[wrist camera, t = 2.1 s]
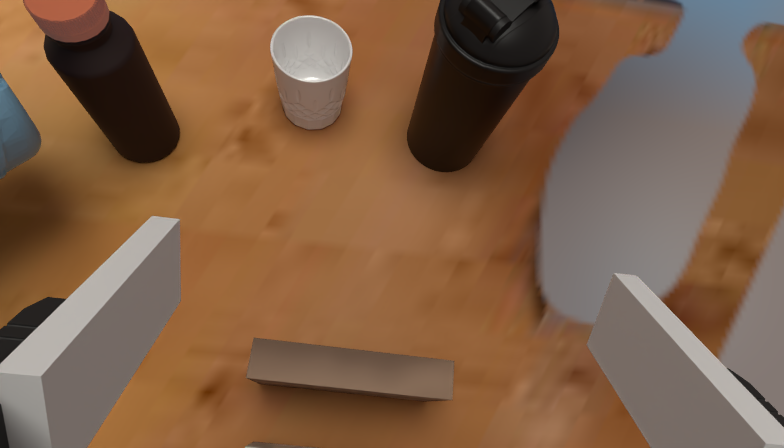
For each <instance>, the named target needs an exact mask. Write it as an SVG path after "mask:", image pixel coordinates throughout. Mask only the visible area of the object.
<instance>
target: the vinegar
mask: <svg viewBox="0 0 784 448" xmlns="http://www.w3.org/2000/svg"><path fill="white" fill-rule="evenodd" d="M23 1H24V2H23V3H24V5H25V8H26V9H27V11H28V12H29V13H30V15H31V16H32V18H33V19H34V20H35V22H36V23H37V24H38V26H39V27H40V28H41V30H42V31H43V32H44V33H45V34H46V35H45V41H44V50H45V53H46V57H47V59H48V61H49V62H50V64H51V65H52V66H53V68H54V69H55V70H56V72H57V73H58V74H59V75H60V77H61V78H62V79H63V81H64V82H65V83H66V85H67V86H68V87H69V88H70V90H71V91H72V92H73V94H74V95H75V96H76V98H77V99H78V100H79V102H80V103H81V104H82V105H83V107H84V108H85V109H86V111H87V112H88V113H89V115H90V116H91V117H92V119H93V120H94V121H95V122H96V124H97V125H98V126H99V128H100V129H101V130H102V132H103V133H104V134H105V135H106V137H107V138H108V139H109V141H110V142H111V143H112V145H113V146H114V147H115V148H116V150H117V151H118V152H119V153H120V154H121V155H122V156H124V157H126V158H127V159H129V160H132V161H136V162H152V161H156V160H159V159H161V158H163V157H165V156H166V155H168V154H169V153H170V152H171V151H172V150H173V149H174V148H175V146H176V144H177V142H178V139H179V126H178V123H177V120H176V118H175V116H174V114H173V112H172V110H171V108H170V106H169V103H168V101H167V99H166V97H165V95H164V93H163V91H162V89H161V87H160V85H159V83H158V80H157V78H156V76H155V74H154V72H153V70H152V68H151V66H150V64H149V62H148V60H147V57H146V55H145V53H144V51H143V49H142V47H141V45H140V43H139V41H138V39H137V37H136V34H135V32H134V30H133V29H132V27H131V26H130V25H129V24H128V23H127V21H126V20H125V19H124V18H122V17H120V16H119V15H117V14H115V13H114V12H112V11H109V9H108V6H107V4H106V2H105V0H23Z"/></svg>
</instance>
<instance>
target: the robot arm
mask: <svg viewBox="0 0 784 448" xmlns="http://www.w3.org/2000/svg"><path fill="white" fill-rule="evenodd" d="M40 147H41V136H40V133H39V131H38V129H37V128H36V126H35V124H34V123H33V121H32V120H31V118H30V117H29V115H28V114H27V112H26V111H25V109H24V108H23V106H22V105H21V103H20V102H19V100H18V99H17V97H16V96H15V94H14V93H13V91H12V90H11V88H10V87H9V86H8V84H7V83H6V81H5V80H4V78H3V77H2V75H1V73H0V179H2V178H3V177H4V176H5V175H6V173H7V172H9V171H10V170H12V169H14V168H15V167H17V166H19V165H20V164H22V163H24V162H25V161H27V160H29V159H31V158H32V157H33V156H35V155H36V154H37V153H38V151H39V149H40ZM180 301H181V281H180V219H173V218H165V217H157V216H151V217H150V218H149V219H148V220H147V221H146V222H145V223H144V224H143V225H142V226H141V227H140V228H139V229H138V230H137V231H136V232H135V233H134V234H133V235H132V236H131V237H130V238H129V239H128V240H127V241H126V242H125V243H124V244H123V245H122V246H121V247H120V248H119V249H118V250H117V251H116V252H115V253H113V254H112V255H111V256H110V257H109V258H108V259H107V260H106V261H105V262H104V263H103V264H102V265H101V266H100V267H99V268H98V269H97V270H96V271H95V272H94V273H93V274H92V275H91V276H90V277H89V278H88V279H87V280H86V281H85V282H84V283H83V284H82V285H81V286H80V287H79V288H78V289H77V290H75V291H74V292H73V293H72V294H71V295H70V296H69V297H68V298H67V299H62V298H52V297H47V298H45V299H43V300H41V301H39V302H37V303H35V304H32V305H30V306H28V307H26V308H24V309H23V310H22V311H21V312H20V313H18V314H17V315H16V316H15V317H14V318H13V319H12V320H11V321H9V322H8V323H7V326H4V327H3V328H1V329H0V448H87V447H88V445H89V444H90V442H91V441H92V439H93V437H94V436H95V434H96V433H97V431H98V430H99V428H100V427H101V425H102V423H103V422H104V420H105V419H106V417H107V416H108V414H109V412H110V411H111V409H112V408H113V406H114V405H115V403H116V401H117V400H118V398H119V397H120V395H121V394H122V392H123V391H124V389H125V387H126V386H127V384H128V383H129V381H130V380H131V378H132V376H133V375H134V373H135V372H136V370H137V369H138V367H139V365H140V364H141V362H142V361H143V359H144V358H145V356H146V355H147V353H148V351H149V350H150V348H151V347H152V345H153V344H154V342H155V340H156V339H157V337H158V336H159V334H160V333H161V331H162V329H163V328H164V326H165V325H166V323H167V322H168V320H169V319H170V317H171V315H172V314H173V312H174V311H175V309H176V308H177V306H178V304H179V303H180ZM587 346H588V348H589V350H590V351H591V353H592V354H593V356H594V358H595V359H596V361H597V362H598V364H599V366H600V367H601V369H602V370H603V372H604V374H605V375H606V377H607V378H608V380H609V382H610V383H611V385H612V386H613V388H614V389H615V391H616V393H617V394H618V396H619V397H620V399H621V401H622V402H623V404H624V405H625V407H626V409H627V410H628V412H629V413H630V415H631V417H632V418H633V420H634V421H635V423H636V425H637V426H638V428H639V429H640V431H641V433H642V434H643V436H644V437H645V439H646V441H647V442H648V444H649V445H650V447H651V448H784V417H783V416H782V415H778V411H777V410H776V409H775V408H774V407H773V406H772V405H771V404H770V403H769V402H765V398H764V397H763V396H762V395H761V394H760V393H759V392H758V391H757V390H756V389H755V388H754V387H753V386H752V385H751V384H750V383H749V382H747V381H746V380H744V379H743V378H742V377H740V376H739V375H737V374H736V373H734V372H733V371H731V370H730V369H728V368H726V367H725V366H724V365H723V364H722V363H721V362H720V361H719V360H718V359H717V358H716V357H715V356H714V355H713V354H712V353H711V352H710V351H709V350H708V349H707V348H706V347H705V346H704V345H703V344H702V343H701V341H700V340H699V339H698V338H697V337H696V336H695V335H694V334H693V333H692V332H691V331H690V330H689V329H688V328H687V327H686V326H685V325H684V324H683V323H682V322H681V321H680V320H679V319H678V318H677V317H676V316H675V315H674V314H673V313H672V312H671V310H670V309H669V308H668V307H667V306H666V305H665V304H664V303H663V302H662V301H661V300H660V299H659V298H658V297H657V296H656V295H655V294H654V293H653V292H652V291H651V290H650V289H649V288H648V287H647V286H646V285H645V284H644V283H643V282H642V281H641V279H640V278H639V277H637V276H634V275H626V274H618V273H614V274H613V276H612V279H611V282H610V284H609V287H608V290H607V292H606V295H605V298H604V301H603V303H602V306H601V308H600V311H599V314H598V316H597V319H596V322H595V324H594V327H593V330H592V332H591V335H590V338H589V340H588V343H587Z"/></svg>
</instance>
